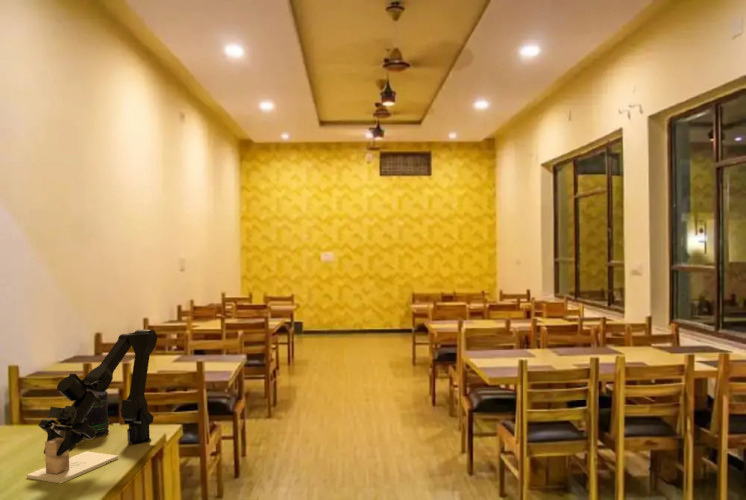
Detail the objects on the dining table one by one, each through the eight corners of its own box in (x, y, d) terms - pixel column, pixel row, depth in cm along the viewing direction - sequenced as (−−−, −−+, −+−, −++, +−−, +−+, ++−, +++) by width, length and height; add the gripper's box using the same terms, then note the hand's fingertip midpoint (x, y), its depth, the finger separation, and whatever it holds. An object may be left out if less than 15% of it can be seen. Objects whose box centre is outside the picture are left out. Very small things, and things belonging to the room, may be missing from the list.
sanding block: (58, 468, 191) (57, 437, 191) (69, 469, 189) (68, 438, 189) (46, 473, 187) (44, 441, 187) (56, 474, 185) (55, 443, 185)
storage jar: (114, 432, 231) (112, 392, 230) (88, 439, 223) (87, 398, 223) (100, 428, 237) (99, 389, 237) (75, 435, 229) (73, 394, 229)
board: (86, 454, 206) (86, 451, 206) (118, 458, 201) (118, 455, 201) (26, 477, 186) (26, 474, 186) (60, 483, 180) (60, 479, 180)
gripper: (42, 393, 194) (11, 438, 184) (86, 397, 187) (56, 444, 177) (64, 411, 202) (35, 456, 191) (107, 416, 194) (80, 462, 184)
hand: (51, 454), depth 186 cm, fingers open, 5 cm apart
